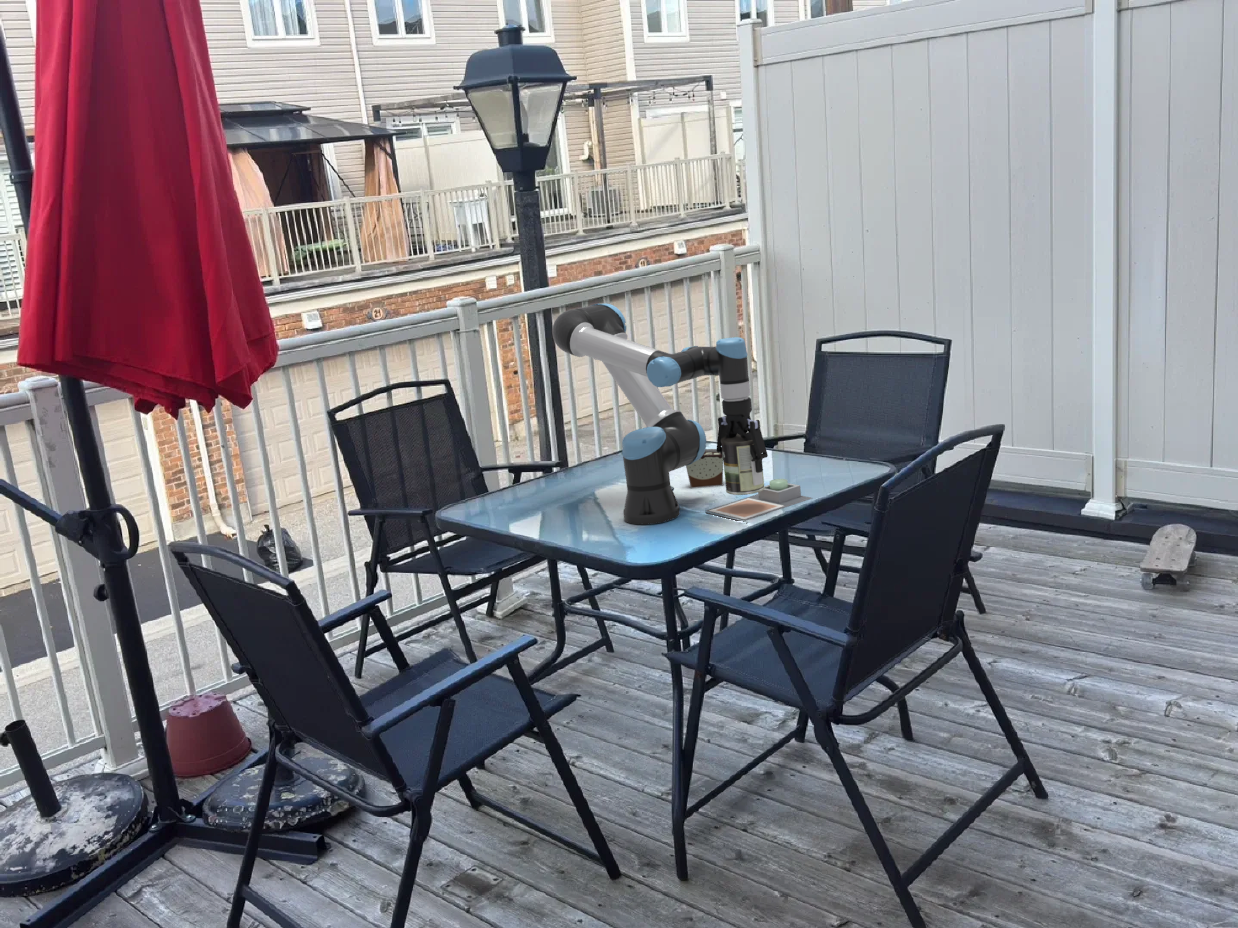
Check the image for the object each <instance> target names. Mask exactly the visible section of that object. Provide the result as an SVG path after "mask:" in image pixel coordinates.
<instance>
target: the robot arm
mask: <svg viewBox="0 0 1238 928" xmlns="http://www.w3.org/2000/svg"><path fill="white" fill-rule="evenodd" d="M626 323H627V321H626V319H625V316H624V314H623V312H622V311H621V310H620V309H619V308H618V307H617V306H615V305H613V304H611V303H595V304H592V305H589V306H585V307H579V308H573V309H568V310H566V311H563V312H562V313H560V315H558V316H557V317H556V319H555V320H554V322H553V325H552V330H551V331H552V338H553V341H554V343H555V345H556V346H557V347H558V348H559V349H560V350H561V351H563V352H564V353H567V354H569V355H571V356H575V357H578V358H583V357H589V358H591V359H594V360H595V361H596V360H597V361H600V362H602V364H603V365H604V367H605V368H606V370H607V371H608V373H609V374H610V375H611V377H612V378H613V380H614V381H615V382H616V384H617V386H618V387H619V389H620V390H621V391H622V392H623V394H624V396H625V397H626V399H627V400H628V402H629V403H630V404H631V406H632V408H634V410H635V412H636V414H637V415H638V416H639V417H640V419H641V420H642V423H644V425H645V426H646V427H643V428H638V429H635V430H632V431H631V432H628V433H627V434H626V435H625V436H623V439H622V441H621V444H622V445H621V447H622V451H621V455H622V459H623V468H624V472H625V473H624V474H625V475H624V477H625V482H626V491H627V492H626V497H625V503H624V509H623V513H622V514H623V519H624V522H626V523H628V524H633V525H655V524H656V525H657V524H661V523H662V524H663V523H665V522H668V521H672V520H674V519H677V518H678V517H679V516H680V515H681V511H680V504H679V502H678V500H677V497H676V495H675V492H674V491H673V488H672V486H671V479H670V473H671V472H673V471H675V470H678V469H681V468H684V467H686V466H687V465H691V464H692V463H693V462H695V461H697V460H699V459H700V458H701V457H702V456H703V454H704V452H705V449H707V448H706V447H707V445H706V444H707V435H706V432H705V430H704V427H703V426H701V424H700V423H699V422H697V421H695V420H693V419H687V418H686V416H684V414H683V413H682V412H681V410H678V409H677V410H676V409H673V408H672V407H671V405H670V404H669V402H668V400H666V399H667V398H665V397H664V395H663V393H662V392H661V391H660V389H659V388H665V387H667V388H668V387H672V386H674V385H676V384H679V383H683V382H686V381H691V380H693V379H696V378H700V377H705V376H717V377H718V376H719V387H720V398H721V399H723V400H722V402H721V406H722V408H721V409H722V413H723V416H719V417H718V418H717V423H718V430H717V440H716V449H717V452H720V453H721V454H722V443H721V439H722V438H723V437H726V438H732V437H735V436H736V435H737V434H739V435H740V436H741V437H742V438H743V439H744V441H748V440H752V439H753V443H754V444H753V445H750V454H751V456H752V458H753V459H752V460H751V467H752V477H753V485H754V486H756V485H759V484H762V483H763V478H762V472H763V473H764V469H763V459H765V458H768V456H769V455H768V451H767V448H766V445H765V441H764V437H763V434H762V431H761V422H760V421H761V420H759V419H756V420H755V419H754V420H753V419H752V418H751V415H750V414H751V413H752V412H753V405H752V398H750V396H751V388H750V387H751V385H750V377H749V366H748V352H747V347H746V346H747V345H746V341H745V339H744V338H743V337H740V336H739V337H738V336H736V337H735V336H734V337H726V338H725V337H724V338H721V339H718V340H717V341H716V343H715V346H699V345H694V346H687V347H685V348H683V349H682V350H681V351H679V352H675V353H669V352H665V351H662V350H660V349H657V348H653V347H650V346H648V345H645V344H641V343H639V342H635V341H632V340H630V339H628V334H627V325H626ZM756 454H757V456H756ZM722 455H723V454H722Z"/></svg>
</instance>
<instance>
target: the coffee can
mask: <svg viewBox="0 0 1238 928" xmlns="http://www.w3.org/2000/svg"><path fill="white" fill-rule="evenodd" d="M721 443H722V446H721V447H722V454H723V474H724V482H725V483H724V484H725V492H726V493H727V494H730V495H734V496H745V495H754V494H758V492H760V491H762V490H764V489H765V486H766V485H765V480H764V471H763V472H762V478H763V483H762V484H759V485H756V486H754V485H753V477H752V467H751V460H752V459H753V458H752V456H751V454H750V445H753V444H754V443H753V439H752V440H748V441H744V439H743V438H742V437H741V436H740V435H739V434H737V435H736V436H735V437H732V438H726V437H723V438H722V439H721ZM756 456H757V454H756Z"/></svg>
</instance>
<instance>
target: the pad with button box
mask: <svg viewBox="0 0 1238 928" xmlns="http://www.w3.org/2000/svg"><path fill="white" fill-rule="evenodd" d="M764 486H765V489H764V490H762V491H760V492H757V493H755V494H752V495H751V496H747V497H744V498H740V499H738V500H734V501H731V502H728V503H726V504H723V505H720V506H716V507H714V508H711V509H709V508H708V509H707V510H705V514H706V515H709V516H713V515H714V516H713V517H717V516H718V518H721V517H722V518H721V519H725V518H726V519H725V520H729V519H731V520H730V521H733V520H735V521H734V522H737V521H743V522H747V521H749V520H752V519H755V518H758V517H761V516H764V515H768V514H770V513H773V512H777V511H779V510H782V509H785V508H788V507H791V506H793V505H794V506H795V505H796V504H800V503H802V502H807V501H808V500H812V499H813V497H809V496H804V495H802V494H801V493H802V491H801V485H799V484H793V483H789V482H788V488H787V489H784V490H780V491H775V490H770V484H767V485H764Z"/></svg>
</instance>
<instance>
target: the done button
mask: <svg viewBox="0 0 1238 928" xmlns="http://www.w3.org/2000/svg"><path fill="white" fill-rule="evenodd" d="M788 481H789V480H788V479H786V478H777V479H771V480H769V485H770V490H775V491H780V490H784V489H787V488H788V483H789V482H788Z"/></svg>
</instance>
